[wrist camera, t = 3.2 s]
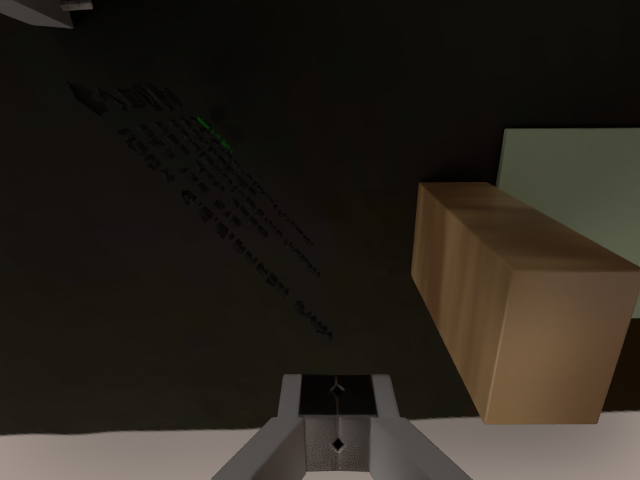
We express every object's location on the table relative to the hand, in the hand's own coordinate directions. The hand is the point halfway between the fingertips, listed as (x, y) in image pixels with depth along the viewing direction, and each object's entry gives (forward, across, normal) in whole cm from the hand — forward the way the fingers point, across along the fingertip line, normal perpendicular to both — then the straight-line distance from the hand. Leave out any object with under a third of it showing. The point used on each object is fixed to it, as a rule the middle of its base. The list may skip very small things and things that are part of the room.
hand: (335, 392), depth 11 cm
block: (+14, -7, 0) cm, 15 cm away
